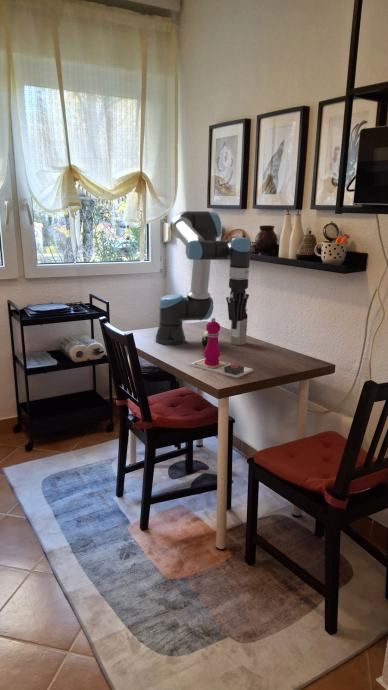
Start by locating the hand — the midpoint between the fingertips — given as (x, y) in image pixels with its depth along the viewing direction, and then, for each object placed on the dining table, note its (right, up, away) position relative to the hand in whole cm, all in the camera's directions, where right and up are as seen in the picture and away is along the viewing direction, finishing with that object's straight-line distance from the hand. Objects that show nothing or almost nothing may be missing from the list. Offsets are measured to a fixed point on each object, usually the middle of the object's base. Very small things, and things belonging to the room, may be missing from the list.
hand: (235, 336), depth 203 cm
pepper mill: (-9, -12, +14) cm, 20 cm away
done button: (0, -14, +3) cm, 14 cm away
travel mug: (+5, -3, +52) cm, 53 cm away
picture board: (-5, -13, +11) cm, 18 cm away
